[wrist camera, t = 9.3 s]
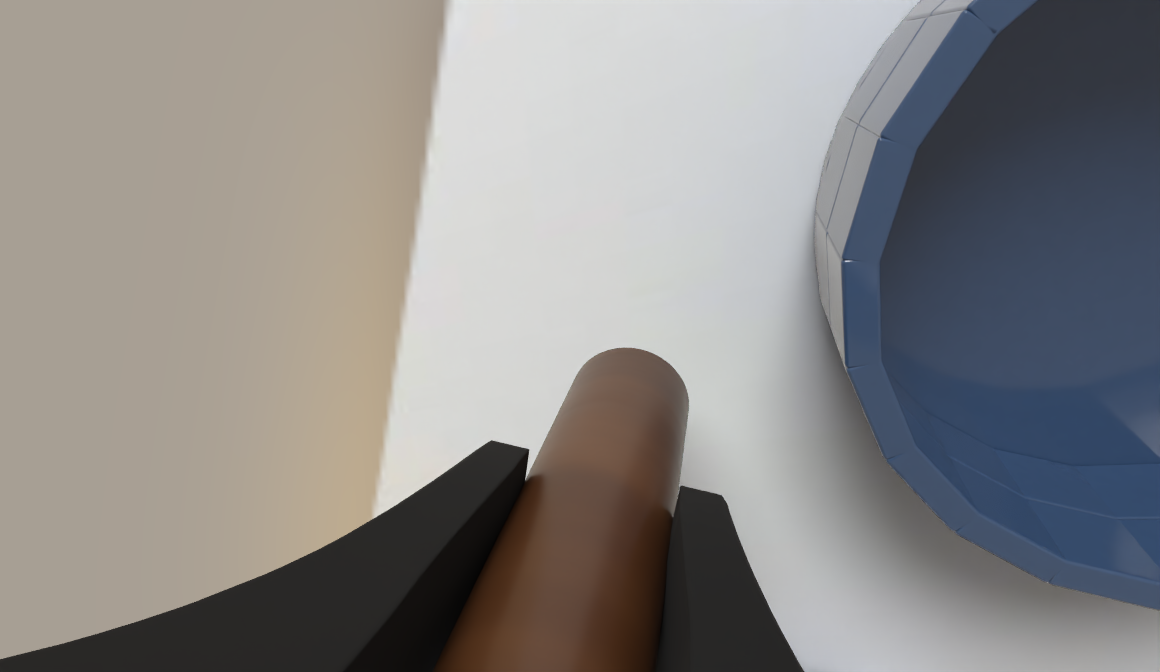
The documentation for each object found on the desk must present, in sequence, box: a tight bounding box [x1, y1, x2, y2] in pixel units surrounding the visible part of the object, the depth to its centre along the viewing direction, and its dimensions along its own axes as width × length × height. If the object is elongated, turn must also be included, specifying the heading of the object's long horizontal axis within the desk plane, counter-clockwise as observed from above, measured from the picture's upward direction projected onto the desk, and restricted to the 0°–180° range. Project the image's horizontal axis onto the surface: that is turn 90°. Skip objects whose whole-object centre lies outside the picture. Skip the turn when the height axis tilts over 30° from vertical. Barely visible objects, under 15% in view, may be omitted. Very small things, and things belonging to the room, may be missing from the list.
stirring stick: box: [432, 348, 689, 672], centre depth 10 cm, size 2×2×9 cm
